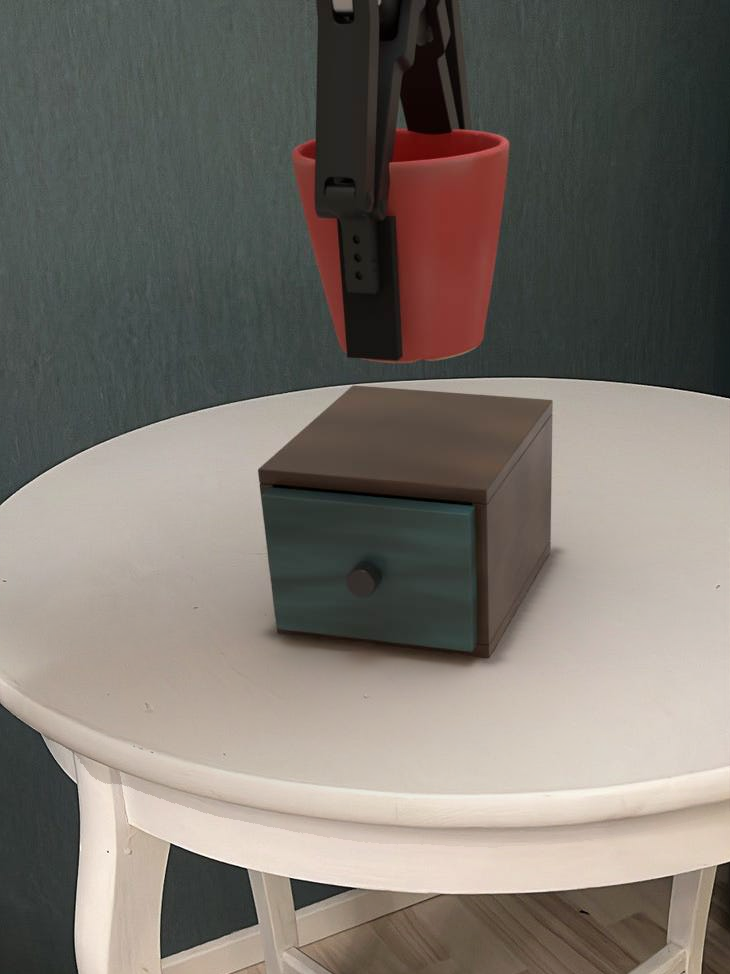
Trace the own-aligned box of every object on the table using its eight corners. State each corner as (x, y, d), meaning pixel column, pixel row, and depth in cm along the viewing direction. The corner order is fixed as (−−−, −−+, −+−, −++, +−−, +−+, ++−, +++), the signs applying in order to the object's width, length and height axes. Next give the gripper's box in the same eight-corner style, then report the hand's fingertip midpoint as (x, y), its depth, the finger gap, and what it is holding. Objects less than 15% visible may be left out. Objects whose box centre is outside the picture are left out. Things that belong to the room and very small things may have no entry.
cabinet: (489, 658, 74) (486, 489, 68) (276, 632, 77) (257, 469, 71) (550, 551, 85) (552, 399, 80) (363, 533, 88) (352, 384, 83)
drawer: (465, 662, 72) (462, 523, 67) (267, 639, 74) (251, 503, 70) (532, 552, 83) (533, 426, 79) (358, 534, 86) (349, 412, 81)
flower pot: (279, 334, 74) (259, 137, 69) (457, 307, 78) (451, 118, 73) (354, 386, 67) (338, 169, 61) (547, 353, 71) (549, 146, 65)
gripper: (378, -211, 49) (408, 399, 62) (530, -195, 67) (529, 278, 80) (191, -204, 51) (259, 388, 64) (387, -190, 69) (409, 272, 82)
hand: (409, 327), depth 72 cm, fingers closed on flower pot, 10 cm apart
